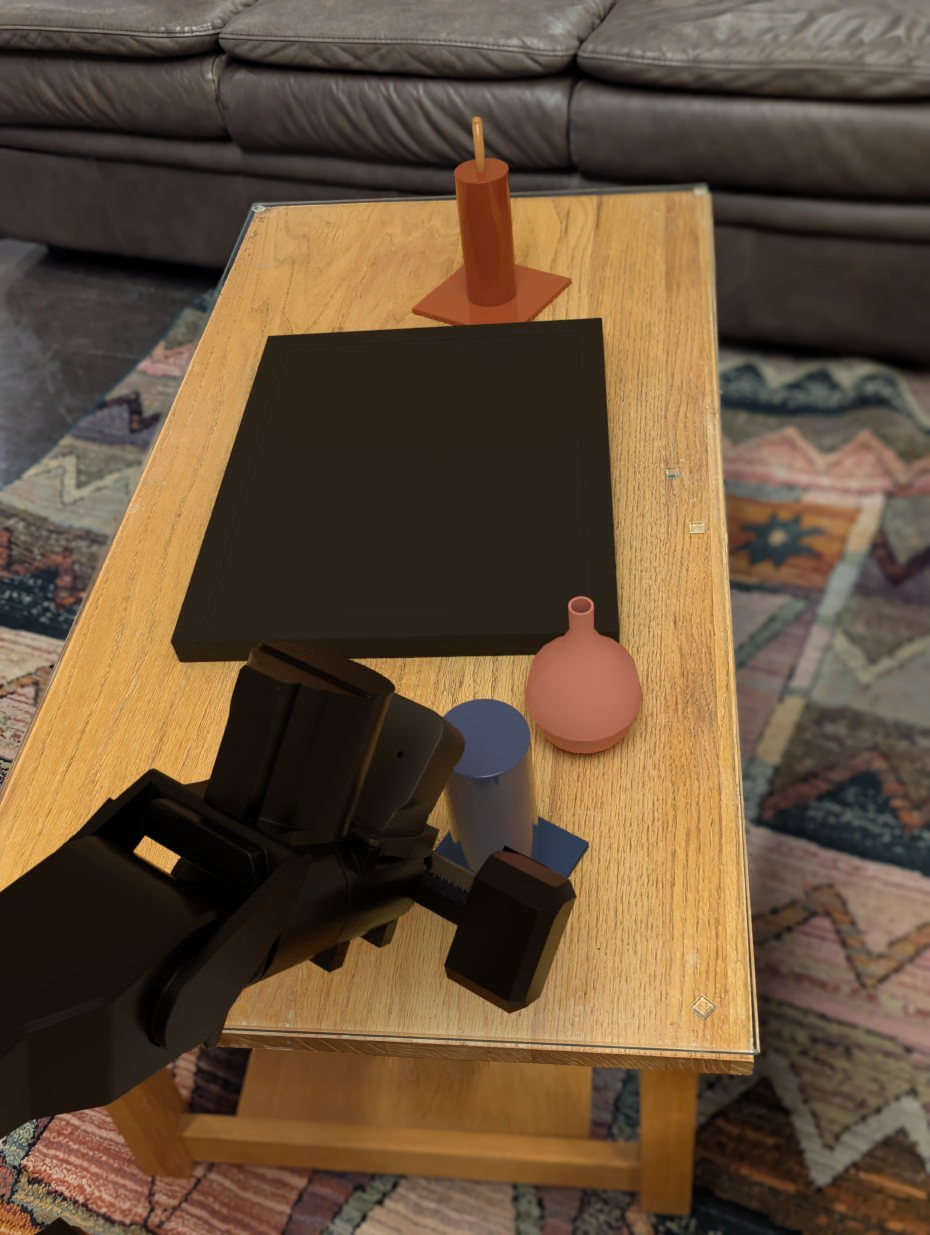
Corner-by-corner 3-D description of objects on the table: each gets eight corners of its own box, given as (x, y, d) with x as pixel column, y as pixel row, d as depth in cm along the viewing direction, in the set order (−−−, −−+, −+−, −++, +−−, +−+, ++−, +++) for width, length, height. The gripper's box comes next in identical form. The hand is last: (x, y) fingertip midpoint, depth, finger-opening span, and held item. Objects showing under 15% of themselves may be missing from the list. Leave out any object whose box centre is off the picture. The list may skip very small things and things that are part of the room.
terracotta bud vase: (662, 744, 72) (669, 624, 63) (560, 789, 70) (553, 672, 62) (605, 667, 77) (605, 545, 68) (509, 707, 75) (496, 587, 67)
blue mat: (520, 949, 63) (520, 945, 63) (411, 885, 67) (410, 880, 66) (589, 847, 67) (589, 841, 67) (483, 791, 71) (482, 786, 70)
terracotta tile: (509, 341, 106) (509, 336, 106) (412, 313, 112) (411, 308, 111) (571, 283, 113) (571, 278, 112) (476, 258, 118) (476, 253, 117)
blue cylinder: (479, 914, 64) (457, 792, 55) (444, 846, 68) (417, 721, 58) (556, 877, 65) (547, 752, 56) (518, 812, 69) (503, 684, 59)
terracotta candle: (499, 311, 109) (484, 133, 96) (457, 299, 111) (437, 124, 98) (526, 286, 112) (515, 110, 99) (484, 275, 114) (469, 101, 101)
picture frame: (179, 662, 81) (619, 653, 78) (170, 641, 80) (619, 631, 76) (273, 356, 109) (602, 338, 105) (268, 335, 107) (602, 317, 103)
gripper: (547, 807, 40) (664, 766, 54) (183, 633, 48) (368, 636, 62) (453, 1072, 42) (591, 965, 56) (115, 860, 50) (310, 813, 64)
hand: (459, 833), depth 59 cm, fingers open, 9 cm apart
